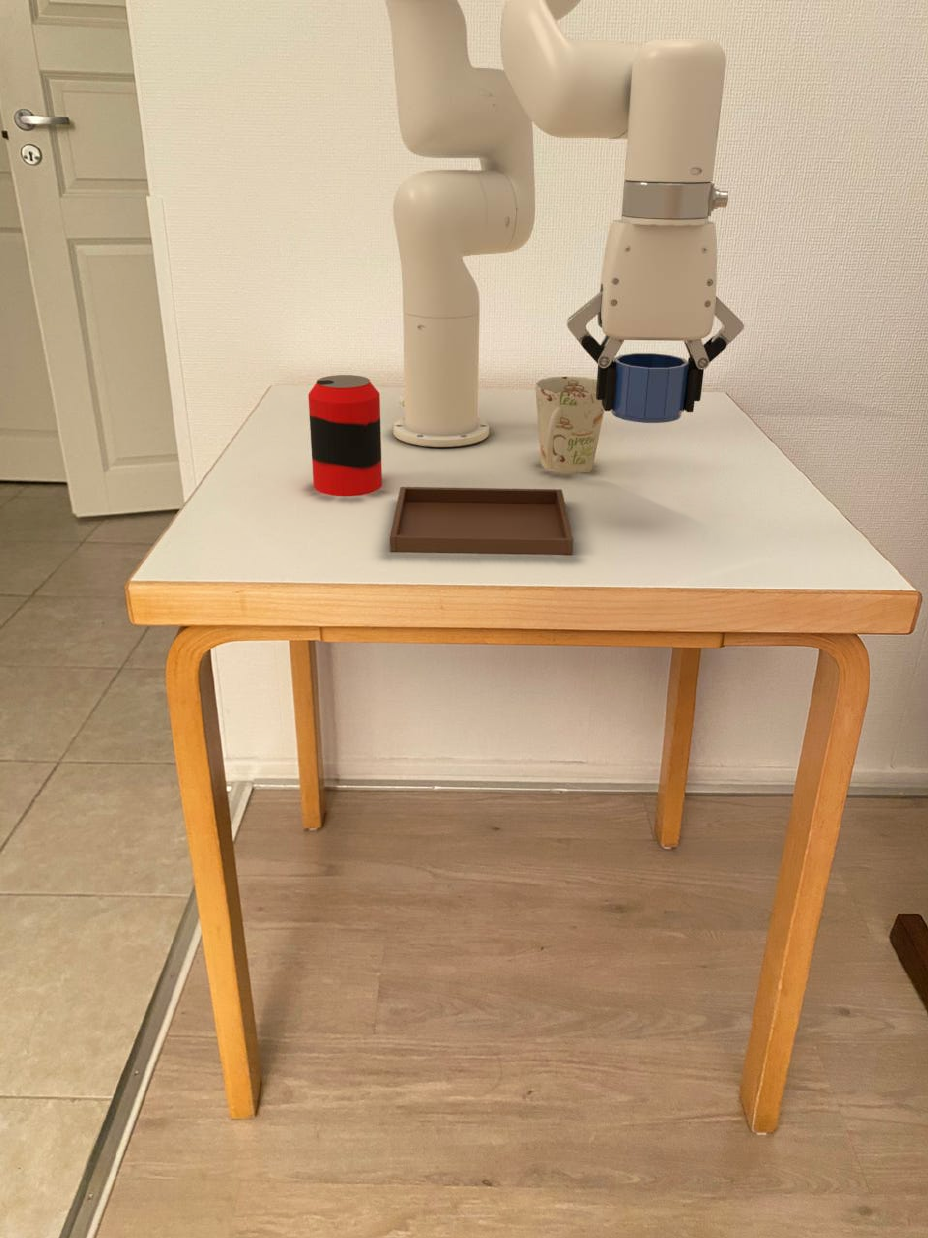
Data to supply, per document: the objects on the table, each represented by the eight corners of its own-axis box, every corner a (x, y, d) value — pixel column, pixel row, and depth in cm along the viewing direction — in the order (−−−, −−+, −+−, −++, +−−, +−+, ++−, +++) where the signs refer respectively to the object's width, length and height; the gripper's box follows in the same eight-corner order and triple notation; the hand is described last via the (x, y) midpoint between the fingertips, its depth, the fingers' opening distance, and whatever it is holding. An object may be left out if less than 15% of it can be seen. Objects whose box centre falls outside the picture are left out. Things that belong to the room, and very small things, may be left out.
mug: (608, 462, 119) (615, 380, 114) (585, 495, 108) (591, 406, 104) (542, 454, 121) (546, 373, 117) (513, 486, 111) (516, 398, 106)
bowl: (595, 410, 94) (599, 357, 91) (649, 401, 97) (653, 350, 95) (642, 427, 89) (648, 371, 86) (697, 417, 92) (704, 363, 90)
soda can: (307, 481, 111) (301, 375, 106) (372, 474, 113) (368, 371, 108) (322, 503, 105) (316, 392, 99) (390, 495, 107) (387, 386, 102)
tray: (390, 556, 92) (389, 536, 91) (400, 504, 105) (400, 486, 104) (572, 559, 92) (573, 540, 91) (560, 506, 105) (561, 489, 104)
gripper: (755, 202, 88) (729, 399, 96) (562, 200, 88) (552, 397, 96) (777, 208, 81) (748, 419, 89) (569, 206, 81) (557, 417, 89)
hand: (646, 406), depth 92 cm, fingers closed on bowl, 6 cm apart
